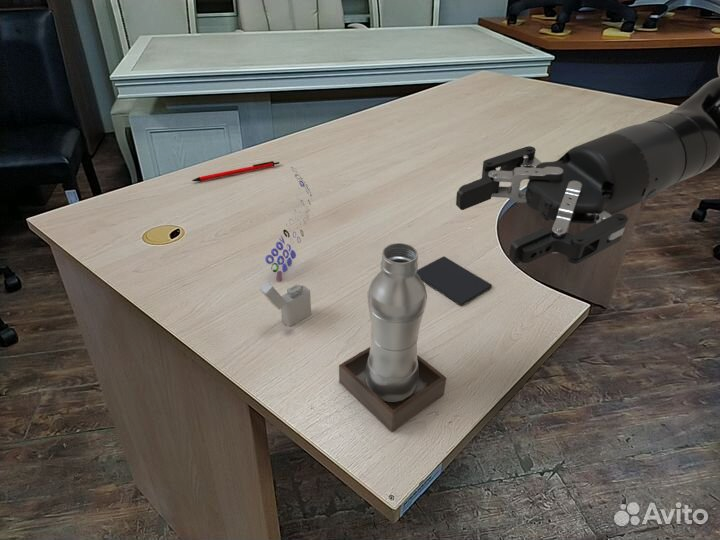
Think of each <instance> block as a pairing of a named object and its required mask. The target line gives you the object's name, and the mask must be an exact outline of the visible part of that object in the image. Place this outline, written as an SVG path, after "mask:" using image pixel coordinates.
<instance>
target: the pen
mask: <svg viewBox="0 0 720 540" xmlns="http://www.w3.org/2000/svg"><path fill="white" fill-rule="evenodd" d="M276 165H280V161H277V162H275V161H273V160H270V161H266V162H261V163H256V164H252V165H251V166H246V167H242V168H237V169H231V170H226V171H221V172H217V173H212V174H207V175H201V176H198V177H196V178H194V179H192V180H191V182H203V181H208V180H215V179H219V178H223V177H227V176H232V175H237V174H242V173H243V174H244V173H247V172H251V171H257V170H262V169H266V168H272V167H275V166H276Z"/></svg>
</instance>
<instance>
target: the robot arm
mask: <svg viewBox="0 0 720 540" xmlns="http://www.w3.org/2000/svg"><path fill="white" fill-rule="evenodd" d="M717 75H718V77H715V78H712V79H711V80H709V81H708V82H706V83H705V84H703V85H702V86H701V87H700V88H699V89H698V90H697V91H696V92H694V93H693V94H692V95H691V96H690V97H689V98H687V99H686V100H684V101H683V102H681V104H679V105H678V106H677V107H675V108H674V109H673V110H672V111H670V112H668V113H666V114H663V115H660V116H658V117H655V118H653V119H651V120H647V121H646V122H643V123H638V124H634V125H630V126H625V127H622V128H620V129H618V130H615V131H612V132H610V133H608V134H604V135H602V136H600V137H597V138H595V139H592V140H589V141H587V142H584V143H582V144H578V145H577V146H574V147H572V148H570V149H569V150H568V151H566V152H565V153H564V154H563V155H562V156H561V157H560V158H559V159H557V160H555V161H541V160H540V159H539V158H537V157H536V151H537V150H536V148H535V147H534V146H529V145H528V146H524V147H521V148H517V149H515V150H511V151H509V152H506V153H502V154H499V155H496V156H493V157H491V158H487V159H484V161H483V162H482V171H481V178H479V179H475V180H473V181H471V182H468V183H466V184H464V185H461V186H460V187H459V188H458V190H457V192H456V196H455V197H456V199H455V206H457V208H458V209H460V210H461V211H464V210H467V209H469V208H472V207H475V206H477V205H479V204H482V203H484V202H487V201H489V200H491V199H492V198H500V199H501V198H502V199H503V198H505V199H509V201H510V202H512V203H521V204H526V205H527V206H528V207H530V208H531V209H533V210H534V211H537V212H538V213H539V216H540V217H541V218H543V219H544V221H546V222H548V221H551V222H553V224H552V228H551V230H550V229H549V228H548V227H544V228H541V229H539V230H537V231H534V232H532V233H530V234H528V235H526V236H523V237H520V238H518V239H516V240H514V241H512V243H510V244H511V245H510V247H509V253H508V259H509V260H510V261H511V262H512V263H513V264H515V265H516V264H519V263H522V264H527V263H531V262H534V261H536V260H538V259H540V258H542V257H545V256H547V255H549V254H555V255H558V254H562V255H563V256H566V260H567V262H568V263H570V264H573V265H576V264H579V263H581V262H583V261H585V260H587V259H589V258H591V257H593V256H595V255H597V254H598V253H601V252H602V251H604V250H606V249H609V247H612V246H613V245H615V244H617V243H619V242H621V239H622V236H623V234H624V232H625V229H626V227H627V223H628V221H629V218H628V216H627V215H625V214H623V213H619V212H621V211H624V210H626V209H628V208H631V207H632V206H635V205H638V204H640V203H642V202H644V201H647V200H648V199H649V200H650V199H651V198H653V197H655V196H657V195H659V194H660V193H662V192H663V191H665V190H667V189H668V188H670V187H672V186H674V185H677V184H679V183H681V182H684V181H685V180H688V179H691V178H693V177H695V176H697V175H700V174H701V173H704V172H705V171H707V170H709V169H710V168H711V167H712V166H713V165H715V163H716V162H717V161H718V159H719V158H720V55H719V56H718V60H717ZM497 169H499V170H497ZM524 180H528V181H527V184H526V189H525V190H520V187H521V182H522V181H524ZM501 182H502V183H511V184H510V186H500V184H501ZM572 224H583V225H584V224H586V225H591V224H592V225H591V226H589V227H587V228H585V229H583V230H581V231H580V232H578V233H575V234H571V233H569V231H570V228H571V226H572ZM716 540H720V535H719V536H718V538H717V539H716Z"/></svg>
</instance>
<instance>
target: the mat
mask: <svg viewBox="0 0 720 540" xmlns="http://www.w3.org/2000/svg"><path fill="white" fill-rule="evenodd" d="M416 273H417V275H418V276H419V277H420V279H421V280H422V282H423V283H424V284H427V285H428V286H430V287H431V288H433V289H434V290H436V291H437V292H439V293H441V295H444V296H445V297H446V298H448V299H450V300H451V301H453V303H456V304H457V305H459V306H460V307H462V306H464V305H466V304H467V303H469V302H471V301H472V300H474V299H476V298H477V297H479V296H480V295H482V294H484V293H485V292H488V291H489V290H490V289H492V288H493V284H491V283H490V282H488V281H487V280H485V279H483V278H481V277H480V276H478V275H476V274H475V273H473V272H471V271H469V270H468V269H466V268H464V267H463V266H461V265H460V264H458V263H456V262H455V261H453V260H451V259H449V258H448V257H447V256H441V257H440V258H437V259H435V260H434V261H432V262H430V263H428V264H426V265H424V266H422V267H421V268H418V270H417V272H416Z"/></svg>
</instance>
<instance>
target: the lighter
mask: <svg viewBox="0 0 720 540" xmlns="http://www.w3.org/2000/svg"><path fill="white" fill-rule="evenodd" d="M259 291H260V292H261V293H262V294H263V295H264V297H265V298H266V299H267V300H268V301H269V302H270V304H271V305H272V306H274V307H275V308H276V309H277V310H279V311H280V313H281V322H282V323H283V324H284V325H285V326H287V327H288V328H289V327H292V326H294V325H296V324H297V323H299V322H301V321H302V320H305V319H306V318H308V317H309V316H311V315H312V301H311V300H312V299H311V289H310V288H308V287H307V286H306V285H300V284H294V285H293V286H290V287H289V288H287V289H286V292H287V293H285V294H282V295H281V294H280V293H279V291H277V289H276V288H275V287H274V286H273V285H271V283H269V282H267V281H265V282H264V283H263V285H261V286H260V287H259Z"/></svg>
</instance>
